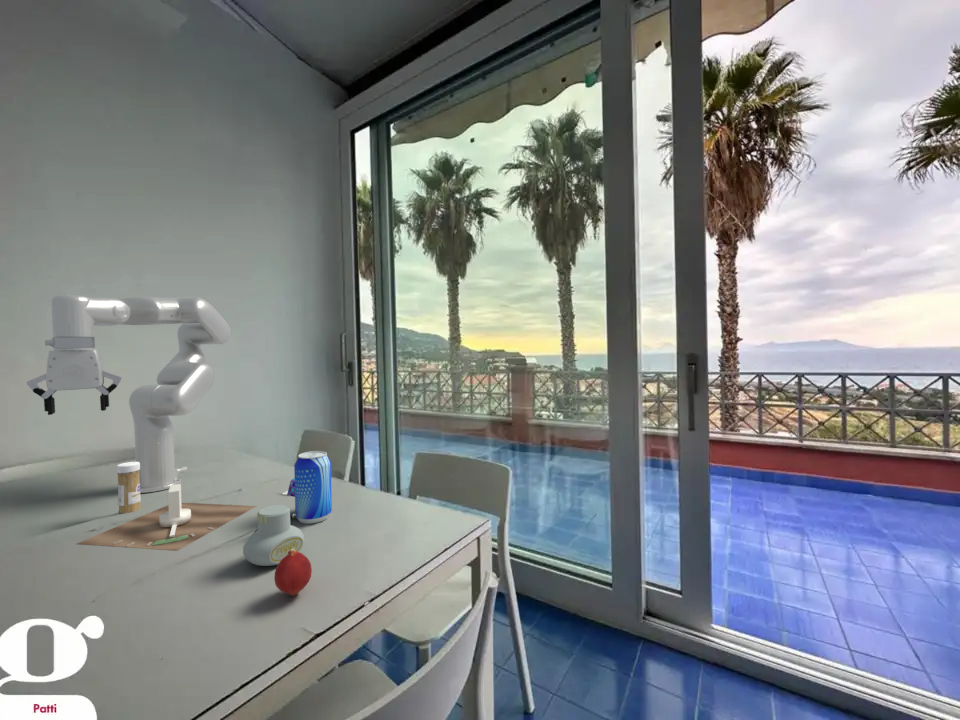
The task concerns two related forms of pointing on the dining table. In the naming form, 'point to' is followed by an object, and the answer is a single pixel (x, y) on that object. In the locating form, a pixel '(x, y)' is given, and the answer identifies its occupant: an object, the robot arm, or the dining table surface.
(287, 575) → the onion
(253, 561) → the air freshener
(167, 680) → the dining table surface
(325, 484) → the beer can
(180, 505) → the tuning knob
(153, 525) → the dial board
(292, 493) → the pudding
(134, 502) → the sprinkles bottle
